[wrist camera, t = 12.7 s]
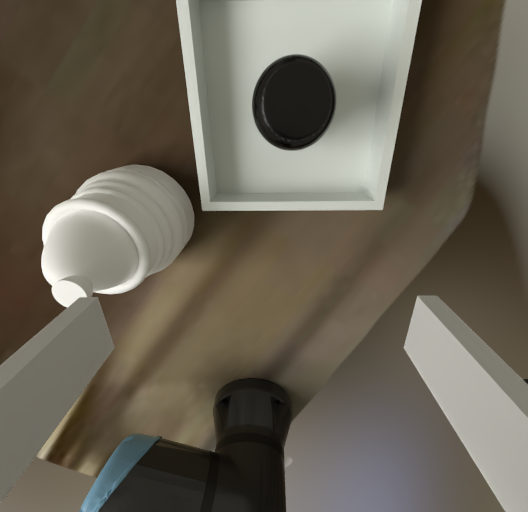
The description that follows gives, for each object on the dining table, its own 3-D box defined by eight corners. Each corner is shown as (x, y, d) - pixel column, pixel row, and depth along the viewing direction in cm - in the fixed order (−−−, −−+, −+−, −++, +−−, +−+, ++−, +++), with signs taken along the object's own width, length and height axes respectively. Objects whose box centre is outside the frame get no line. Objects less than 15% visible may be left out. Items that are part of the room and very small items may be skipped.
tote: (368, 198, 34) (382, 209, 29) (211, 199, 34) (202, 210, 30) (402, -15, 25) (430, -46, 20) (189, -7, 25) (171, -35, 21)
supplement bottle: (265, 63, 27) (259, 24, 16) (330, 81, 27) (365, 54, 17) (251, 136, 30) (239, 143, 19) (310, 150, 30) (329, 165, 20)
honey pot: (200, 179, 33) (131, 231, 17) (189, 265, 39) (129, 365, 23) (96, 152, 32) (-80, 181, 16) (100, 245, 38) (-28, 335, 22)
